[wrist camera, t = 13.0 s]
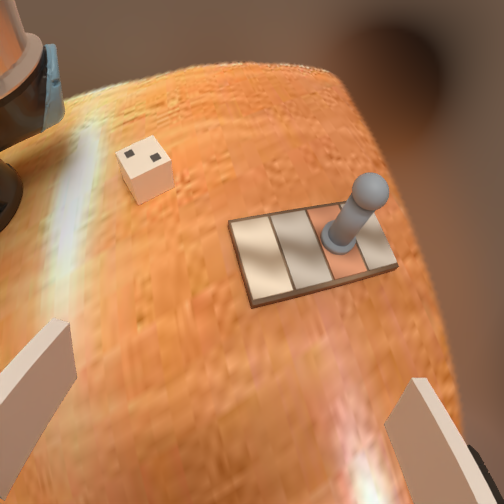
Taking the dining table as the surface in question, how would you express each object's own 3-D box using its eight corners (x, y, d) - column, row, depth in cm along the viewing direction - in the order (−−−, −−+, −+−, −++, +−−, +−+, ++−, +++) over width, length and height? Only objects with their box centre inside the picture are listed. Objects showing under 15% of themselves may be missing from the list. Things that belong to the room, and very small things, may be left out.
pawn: (315, 227, 44) (350, 163, 32) (344, 222, 45) (385, 161, 33) (327, 258, 42) (370, 201, 30) (357, 251, 43) (405, 196, 31)
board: (227, 226, 44) (228, 219, 43) (362, 203, 49) (367, 196, 48) (251, 308, 39) (253, 304, 38) (394, 270, 44) (399, 265, 43)
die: (123, 178, 46) (115, 151, 40) (157, 162, 48) (152, 134, 42) (138, 205, 44) (130, 178, 38) (174, 187, 46) (171, 159, 41)
